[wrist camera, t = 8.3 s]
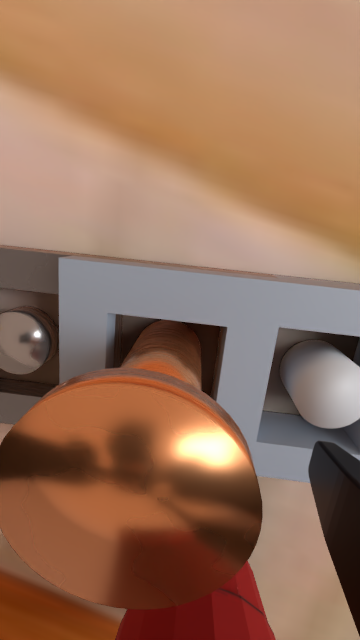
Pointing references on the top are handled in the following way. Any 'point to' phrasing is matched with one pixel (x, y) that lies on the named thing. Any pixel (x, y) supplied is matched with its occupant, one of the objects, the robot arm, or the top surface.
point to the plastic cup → (205, 616)
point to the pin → (132, 481)
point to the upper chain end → (231, 346)
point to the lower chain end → (45, 324)
